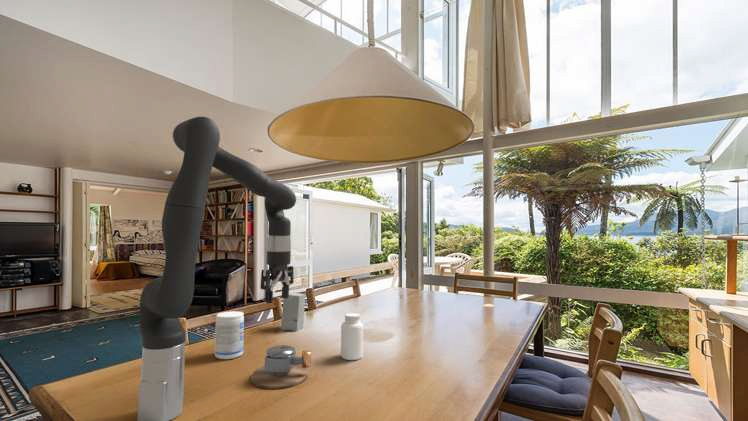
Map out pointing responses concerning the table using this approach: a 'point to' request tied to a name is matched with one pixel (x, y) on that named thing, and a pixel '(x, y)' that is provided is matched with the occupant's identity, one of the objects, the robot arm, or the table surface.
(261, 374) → the post base
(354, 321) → the pill bottle
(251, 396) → the table surface
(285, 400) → the table surface
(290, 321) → the skincare box
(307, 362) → the coupling
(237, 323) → the supplement tub
